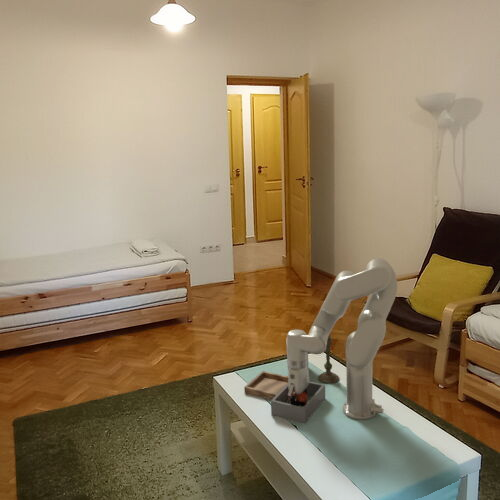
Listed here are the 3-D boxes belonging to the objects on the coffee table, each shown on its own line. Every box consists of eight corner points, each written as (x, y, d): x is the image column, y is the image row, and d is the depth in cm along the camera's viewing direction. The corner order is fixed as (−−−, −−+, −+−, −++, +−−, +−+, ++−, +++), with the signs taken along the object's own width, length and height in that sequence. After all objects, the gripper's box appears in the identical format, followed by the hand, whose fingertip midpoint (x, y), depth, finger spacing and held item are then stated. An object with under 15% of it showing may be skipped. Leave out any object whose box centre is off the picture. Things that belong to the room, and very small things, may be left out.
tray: (295, 383, 207) (295, 378, 206) (278, 401, 194) (278, 395, 193) (263, 376, 215) (262, 371, 214) (244, 392, 202) (244, 387, 201)
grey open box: (325, 398, 194) (325, 384, 193) (305, 424, 177) (304, 409, 176) (293, 391, 201) (293, 377, 200) (271, 415, 184) (270, 400, 183)
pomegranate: (307, 416, 186) (313, 392, 191) (300, 408, 181) (307, 384, 187) (290, 414, 190) (296, 390, 195) (282, 406, 185) (289, 382, 190)
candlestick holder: (326, 371, 216) (325, 308, 210) (343, 378, 209) (342, 313, 203) (313, 379, 210) (311, 314, 204) (330, 386, 203) (329, 319, 197)
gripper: (296, 373, 176) (298, 417, 180) (315, 354, 190) (316, 395, 194) (278, 369, 180) (280, 412, 183) (298, 351, 194) (299, 391, 198)
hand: (298, 403), depth 189 cm, fingers closed on pomegranate, 7 cm apart
